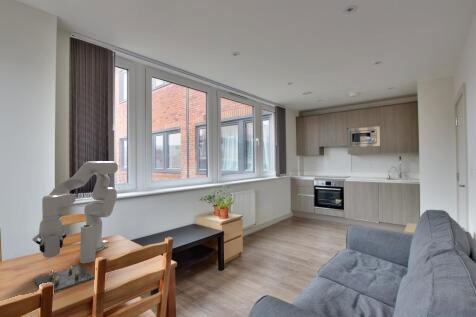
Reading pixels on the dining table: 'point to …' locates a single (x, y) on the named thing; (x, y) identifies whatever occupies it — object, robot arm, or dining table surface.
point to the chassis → (65, 278)
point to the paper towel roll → (88, 244)
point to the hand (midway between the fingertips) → (51, 249)
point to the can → (51, 246)
